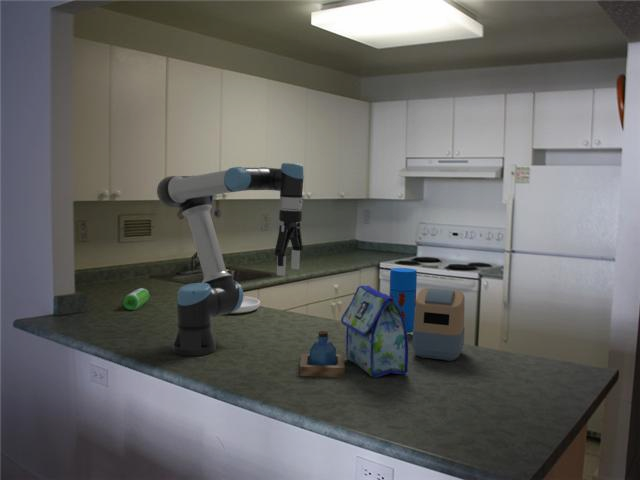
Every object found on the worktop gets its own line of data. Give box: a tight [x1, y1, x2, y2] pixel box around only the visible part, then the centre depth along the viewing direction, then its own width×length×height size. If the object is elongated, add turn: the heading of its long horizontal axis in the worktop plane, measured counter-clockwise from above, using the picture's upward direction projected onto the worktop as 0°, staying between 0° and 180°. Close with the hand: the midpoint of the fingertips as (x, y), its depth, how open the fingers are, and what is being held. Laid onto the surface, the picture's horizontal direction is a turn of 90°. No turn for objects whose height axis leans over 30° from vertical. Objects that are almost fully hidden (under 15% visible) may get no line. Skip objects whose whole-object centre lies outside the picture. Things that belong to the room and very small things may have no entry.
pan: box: [228, 295, 261, 315], centre depth 287 cm, size 25×44×6 cm, turn 51°
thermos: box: [388, 267, 418, 334], centre depth 249 cm, size 11×11×25 cm
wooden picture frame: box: [299, 353, 346, 378], centre depth 198 cm, size 14×14×3 cm
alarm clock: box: [412, 287, 465, 362], centre depth 215 cm, size 17×17×23 cm
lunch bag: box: [340, 285, 409, 379], centre depth 200 cm, size 22×17×26 cm
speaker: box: [122, 287, 150, 311], centre depth 283 cm, size 18×7×8 cm, turn 178°
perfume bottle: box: [309, 330, 337, 366], centre depth 197 cm, size 6×6×12 cm
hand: (288, 272), depth 206 cm, fingers open, 13 cm apart
